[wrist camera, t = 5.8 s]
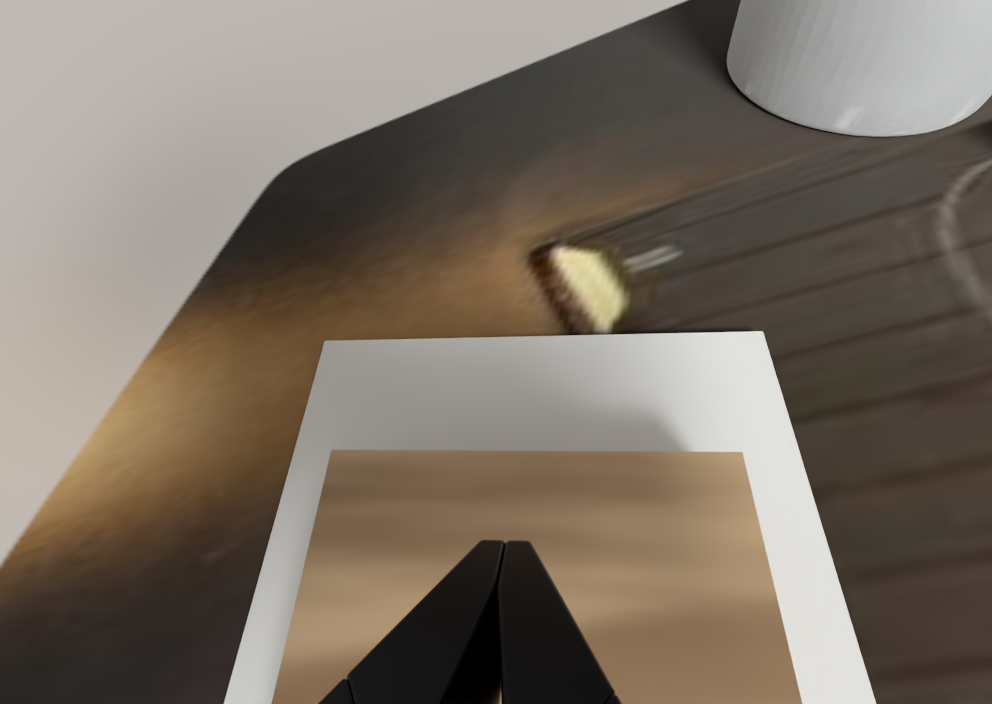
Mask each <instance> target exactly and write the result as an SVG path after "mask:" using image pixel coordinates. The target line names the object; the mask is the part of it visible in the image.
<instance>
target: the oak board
mask: <svg viewBox="0 0 992 704" xmlns="http://www.w3.org/2000/svg"><path fill="white" fill-rule="evenodd" d="M484 539H485V540H503V541H504V542H505V544H506V542H507V541H509V540H527V541H530V542H531V543H532V545H533V546H534V548H535V550H536V552H537V554H538V555H539V557H540V559H541V561H542V562H543V564H544V566H545V568H546V570H547V571H548V573H549V575H550V577H551V578H552V580H553V582H554V584H555V586H556V587H557V589H558V591H559V593H560V594H561V596H562V598H563V600H564V602H565V603H566V605H567V607H568V609H569V611H570V612H571V614H572V616H573V618H574V619H575V621H576V623H577V625H578V627H579V628H580V630H581V632H582V634H583V635H584V637H585V639H586V641H587V643H588V644H589V646H590V648H591V650H592V651H593V653H594V655H595V657H596V659H597V660H598V662H599V664H600V666H601V667H602V669H603V671H604V673H605V675H606V676H607V678H608V680H609V682H610V683H611V685H612V687H613V689H614V691H615V695H617V696H618V697H619V699H620V701H621V702H622V704H802V700H801V696H800V692H799V688H798V683H797V679H796V675H795V671H794V667H793V662H792V658H791V654H790V650H789V646H788V641H787V637H786V633H785V629H784V625H783V620H782V616H781V612H780V608H779V604H778V599H777V595H776V591H775V587H774V583H773V578H772V574H771V570H770V566H769V562H768V557H767V553H766V549H765V545H764V541H763V536H762V532H761V528H760V524H759V520H758V515H757V511H756V507H755V503H754V499H753V494H752V490H751V486H750V482H749V478H748V474H747V469H746V465H745V461H744V457H743V453H742V452H661V451H469V450H331V453H330V458H329V462H328V466H327V470H326V474H325V479H324V483H323V487H322V491H321V496H320V500H319V504H318V508H317V513H316V517H315V521H314V525H313V530H312V534H311V538H310V542H309V547H308V551H307V555H306V559H305V564H304V568H303V572H302V576H301V580H300V585H299V589H298V593H297V597H296V602H295V606H294V610H293V614H292V619H291V623H290V627H289V631H288V636H287V640H286V644H285V648H284V653H283V657H282V661H281V665H280V670H279V674H278V678H277V682H276V686H275V691H274V695H273V699H272V703H271V704H318V703H319V702H320V701H321V700H322V699H323V698H324V697H325V696H326V695H327V694H328V693H329V692H330V691H331V690H332V689H333V688H334V687H335V686H336V685H337V684H338V683H339V682H340V681H341V680H342V679H344V678H345V679H347V674H348V673H349V672H350V671H351V670H352V669H353V668H354V667H355V666H356V665H357V664H358V663H359V662H360V661H361V660H362V659H363V658H364V657H365V656H366V655H367V654H368V653H369V652H370V651H371V650H372V649H373V648H374V647H375V646H376V645H377V644H378V643H379V642H380V641H381V640H382V639H383V638H384V637H385V636H386V635H387V634H388V633H389V632H390V631H391V630H392V629H393V628H394V627H395V626H396V625H397V624H398V623H399V622H400V621H401V620H402V619H403V618H404V617H405V616H406V615H407V614H408V613H409V612H410V611H411V610H412V609H413V608H414V607H415V606H416V605H417V604H418V603H419V602H420V601H421V600H422V599H423V598H424V597H425V596H426V595H427V594H428V593H429V592H430V591H431V590H432V589H433V588H434V587H435V586H436V585H437V584H438V583H439V582H440V581H441V580H442V579H443V578H444V577H445V576H446V575H447V574H448V573H449V571H450V570H451V569H452V568H453V567H454V566H455V565H456V564H457V563H458V562H459V561H460V560H461V559H462V558H463V557H464V556H465V555H466V554H467V553H468V552H469V551H470V550H471V549H472V548H473V547H474V546H475V545H476V544H477V543H478V542H479V541H481V540H484ZM499 704H502V698H501V695H500V702H499Z"/></svg>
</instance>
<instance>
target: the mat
mask: <svg viewBox="0 0 992 704" xmlns="http://www.w3.org/2000/svg"><path fill="white" fill-rule="evenodd" d="M331 450H469V451H661V452H742V453H743V457H744V461H745V465H746V469H747V474H748V478H749V482H750V486H751V490H752V494H753V499H754V503H755V507H756V511H757V515H758V520H759V524H760V528H761V532H762V536H763V541H764V545H765V549H766V553H767V557H768V562H769V566H770V570H771V574H772V578H773V583H774V587H775V591H776V595H777V599H778V604H779V608H780V612H781V616H782V620H783V625H784V629H785V633H786V637H787V641H788V646H789V650H790V654H791V658H792V662H793V667H794V671H795V675H796V679H797V683H798V688H799V692H800V696H801V700H802V704H876V702H875V698H874V695H873V692H872V688H871V685H870V682H869V679H868V675H867V672H866V669H865V665H864V662H863V659H862V656H861V652H860V649H859V646H858V642H857V639H856V636H855V633H854V629H853V626H852V623H851V619H850V616H849V613H848V610H847V606H846V603H845V600H844V596H843V593H842V590H841V587H840V583H839V580H838V577H837V573H836V570H835V567H834V564H833V560H832V557H831V554H830V550H829V547H828V544H827V541H826V537H825V534H824V531H823V527H822V524H821V521H820V518H819V514H818V511H817V508H816V504H815V501H814V498H813V494H812V491H811V488H810V485H809V481H808V478H807V475H806V471H805V468H804V465H803V462H802V458H801V455H800V452H799V448H798V445H797V442H796V439H795V435H794V432H793V429H792V425H791V422H790V419H789V416H788V412H787V409H786V406H785V402H784V399H783V396H782V393H781V389H780V386H779V383H778V379H777V376H776V373H775V370H774V366H773V363H772V360H771V356H770V353H769V350H768V347H767V343H766V340H765V337H764V333H763V331H750V332H705V333H659V334H613V335H567V336H522V337H476V338H430V339H384V340H339V341H325V342H324V345H323V349H322V353H321V356H320V360H319V363H318V367H317V371H316V374H315V378H314V381H313V385H312V388H311V392H310V396H309V399H308V403H307V406H306V410H305V414H304V417H303V421H302V424H301V428H300V432H299V435H298V439H297V442H296V446H295V450H294V453H293V457H292V460H291V464H290V467H289V471H288V475H287V478H286V482H285V485H284V489H283V493H282V496H281V500H280V503H279V507H278V511H277V514H276V518H275V521H274V525H273V529H272V532H271V536H270V539H269V543H268V547H267V550H266V554H265V557H264V561H263V564H262V568H261V572H260V575H259V579H258V582H257V586H256V590H255V593H254V597H253V600H252V604H251V608H250V611H249V615H248V618H247V622H246V626H245V629H244V633H243V636H242V640H241V643H240V647H239V651H238V654H237V658H236V661H235V665H234V669H233V672H232V676H231V679H230V683H229V687H228V690H227V694H226V697H225V701H224V704H271V703H272V699H273V695H274V691H275V686H276V682H277V678H278V674H279V670H280V665H281V661H282V657H283V653H284V648H285V644H286V640H287V636H288V631H289V627H290V623H291V619H292V614H293V610H294V606H295V602H296V597H297V593H298V589H299V585H300V580H301V576H302V572H303V568H304V564H305V559H306V555H307V551H308V547H309V542H310V538H311V534H312V530H313V525H314V521H315V517H316V513H317V508H318V504H319V500H320V496H321V491H322V487H323V483H324V479H325V474H326V470H327V466H328V462H329V458H330V453H331Z"/></svg>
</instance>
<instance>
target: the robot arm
mask: <svg viewBox="0 0 992 704" xmlns="http://www.w3.org/2000/svg"><path fill="white" fill-rule="evenodd" d="M500 695H501V698H502V704H622V702H621V701H620V699H619V697H618V696H617V695H615V691H614V689H613V687H612V685H611V683H610V682H609V680H608V678H607V676H606V675H605V673H604V671H603V669H602V667H601V666H600V664H599V662H598V660H597V659H596V657H595V655H594V653H593V651H592V650H591V648H590V646H589V644H588V643H587V641H586V639H585V637H584V635H583V634H582V632H581V630H580V628H579V627H578V625H577V623H576V621H575V619H574V618H573V616H572V614H571V612H570V611H569V609H568V607H567V605H566V603H565V602H564V600H563V598H562V596H561V594H560V593H559V591H558V589H557V587H556V586H555V584H554V582H553V580H552V578H551V577H550V575H549V573H548V571H547V570H546V568H545V566H544V564H543V562H542V561H541V559H540V557H539V555H538V554H537V552H536V550H535V548H534V546H533V545H532V543H531V542H530V541H527V540H509V541H507V542H506V544H505V542H504V541H503V540H485V539H484V540H481V541H479V542H478V543H477V544H476V545H475V546H474V547H473V548H472V549H471V550H470V551H469V552H468V553H467V554H466V555H465V556H464V557H463V558H462V559H461V560H460V561H459V562H458V563H457V564H456V565H455V566H454V567H453V568H452V569H451V570H450V571H449V573H448V574H447V575H446V576H445V577H444V578H443V579H442V580H441V581H440V582H439V583H438V584H437V585H436V586H435V587H434V588H433V589H432V590H431V591H430V592H429V593H428V594H427V595H426V596H425V597H424V598H423V599H422V600H421V601H420V602H419V603H418V604H417V605H416V606H415V607H414V608H413V609H412V610H411V611H410V612H409V613H408V614H407V615H406V616H405V617H404V618H403V619H402V620H401V621H400V622H399V623H398V624H397V625H396V626H395V627H394V628H393V629H392V630H391V631H390V632H389V633H388V634H387V635H386V636H385V637H384V638H383V639H382V640H381V641H380V642H379V643H378V644H377V645H376V646H375V647H374V648H373V649H372V650H371V651H370V652H369V653H368V654H367V655H366V656H365V657H364V658H363V659H362V660H361V661H360V662H359V663H358V664H357V665H356V666H355V667H354V668H353V669H352V670H351V671H350V672H349V673H348V674H347V679H345V678H344V679H342V680H341V681H340V682H339V683H338V684H337V685H336V686H335V687H334V688H333V689H332V690H331V691H330V692H329V693H328V694H327V695H326V696H325V697H324V698H323V699H322V700H321V701H320V702H319V703H318V704H499V702H500Z"/></svg>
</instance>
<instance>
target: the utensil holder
mask: <svg viewBox="0 0 992 704" xmlns="http://www.w3.org/2000/svg"><path fill="white" fill-rule="evenodd" d="M727 68H728V71H729V74H730V77H731V78H732V80H733V82H734V83H735V85H736V86H737V87H738V89H739V90H740V91H741V92H742V93H743V94H744V95H745V96H747V97H748V98H749V99H750V100H751V101H752V102H754V103H755V104H757V105H758V106H760V107H762V108H763V109H765V110H767V111H769V112H770V113H772V114H775V115H777V116H779V117H781V118H784V119H786V120H789V121H791V122H794V123H797V124H800V125H804V126H807V127H811V128H815V129H819V130H824V131H829V132H834V133H840V134H847V135H854V136H870V137H890V136H906V135H915V134H921V133H927V132H931V131H935V130H938V129H942V128H945V127H948V126H950V125H953V124H955V123H957V122H959V121H961V120H963V119H965V118H966V117H968V116H969V115H971V114H972V113H974V112H975V111H976V110H978V109H979V108H980V107H981V106H982V105H983V104H984V103H985V102H986V100H987V99H988V98H989V97H990V96H991V95H992V0H741V2H740V6H739V10H738V13H737V17H736V21H735V25H734V29H733V32H732V36H731V40H730V45H729V49H728V53H727Z"/></svg>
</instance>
